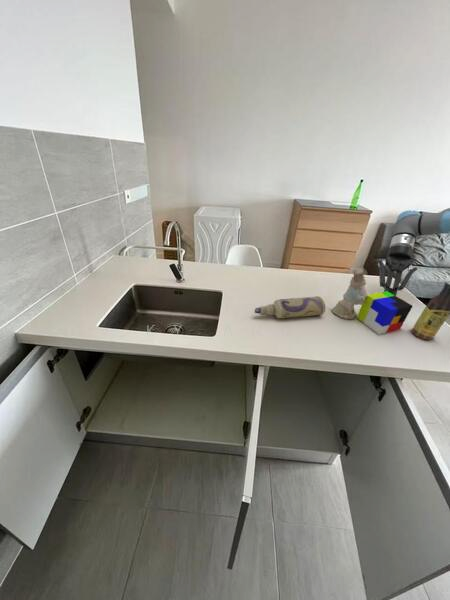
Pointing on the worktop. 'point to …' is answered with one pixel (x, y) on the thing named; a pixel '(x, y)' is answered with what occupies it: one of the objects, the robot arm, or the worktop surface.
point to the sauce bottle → (433, 314)
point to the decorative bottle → (294, 307)
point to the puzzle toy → (383, 312)
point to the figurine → (352, 296)
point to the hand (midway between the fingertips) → (387, 305)
